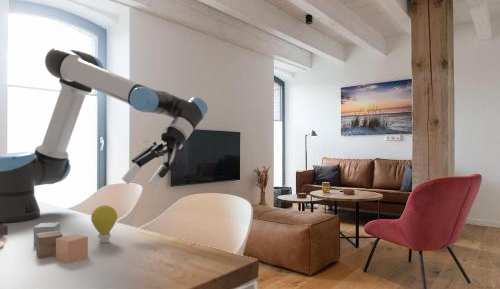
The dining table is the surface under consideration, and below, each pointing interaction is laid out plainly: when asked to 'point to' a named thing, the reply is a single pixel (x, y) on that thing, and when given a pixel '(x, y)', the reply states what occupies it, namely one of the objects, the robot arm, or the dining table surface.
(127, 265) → the dining table surface
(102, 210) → the light bulb
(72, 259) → the terracotta block
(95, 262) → the dining table surface
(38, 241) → the walnut block
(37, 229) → the slate grey block
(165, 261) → the dining table surface
